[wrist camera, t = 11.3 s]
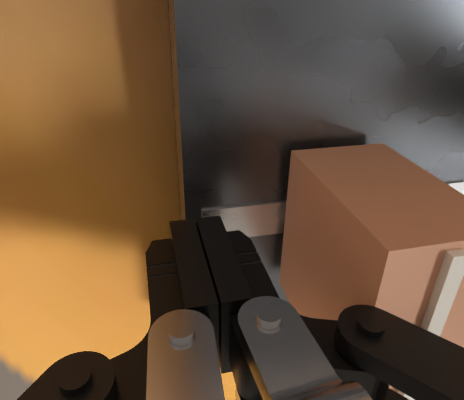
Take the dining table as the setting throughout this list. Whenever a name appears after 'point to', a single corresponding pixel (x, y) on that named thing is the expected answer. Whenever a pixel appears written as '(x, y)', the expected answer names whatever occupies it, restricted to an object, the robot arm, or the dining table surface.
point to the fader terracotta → (373, 238)
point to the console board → (307, 98)
